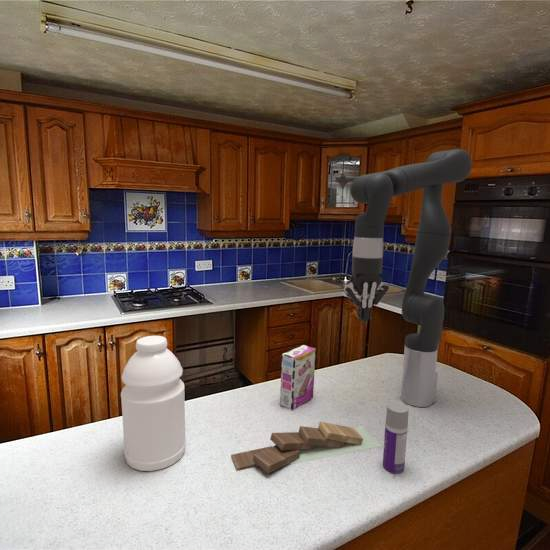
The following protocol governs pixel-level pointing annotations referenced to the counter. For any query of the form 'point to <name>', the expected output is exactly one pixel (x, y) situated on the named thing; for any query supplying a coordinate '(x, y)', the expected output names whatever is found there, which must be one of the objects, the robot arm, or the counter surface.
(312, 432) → the domino
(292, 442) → the domino
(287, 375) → the candy bar box
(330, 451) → the mat
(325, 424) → the domino
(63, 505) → the counter surface
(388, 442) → the container
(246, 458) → the domino
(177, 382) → the bottle
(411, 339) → the robot arm
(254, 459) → the domino
